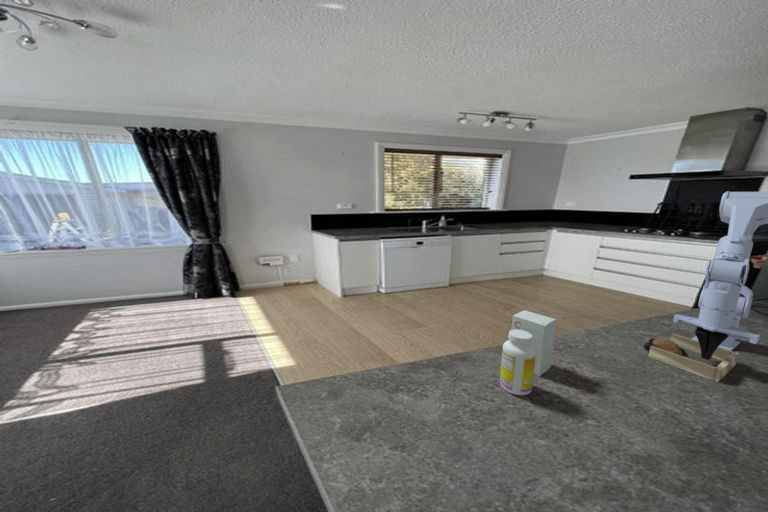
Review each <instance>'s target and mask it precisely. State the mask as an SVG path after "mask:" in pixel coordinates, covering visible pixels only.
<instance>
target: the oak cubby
mask: <svg viewBox="0 0 768 512" xmlns="http://www.w3.org/2000/svg"><path fill="white" fill-rule="evenodd" d="M670 341H673V342H675V343H676V344H677V345H678V346H679V347H681V348H682V349H684V350H687V351H691V352H693V353H697V354H700V355H701V348H700V344H699V341H696V340H693V338H688V337H685V336H683V335H682V336H681V335H680V334H679V335H678V334H675V333H672V334H671V336H670ZM648 352H649V353H648V358H650V359H653V360H656V361H658V362H661V363H663V364H666V365H670V366H672V367H674V368H677V369H681V370H683V371H686V372H689V373H692V374H694V375H696V376H700V377H701V378H702V377H703V378H705V379H708V380H710V381H713V382H715V383H719V382H720V381H721V380H722V379H723V378H724V377H725V376H726V375H727V374H728V373H729V372H730V371H731V370H732V369H733V368H734V367H735V366H736V365H737V362H738V360H739V355H740V353H739V352H736V351H733V350H732V351H730V350H727V349H723V348H720V347H717V349H716V350H715V351H714V353H713V355H712V357H711V359H715V360H719V361H721V362H720V363H719V364H718V365H717V366H713V365H710V364H708V363H704V362H701V361H699V360H696V359H692V358H690V357H687V356H685V355H683V356H681V355H678V354H675V353H672V352H669V351H666V350H663V349H660V348H657V347H654V346H651V347H650V351H648Z"/></svg>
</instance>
